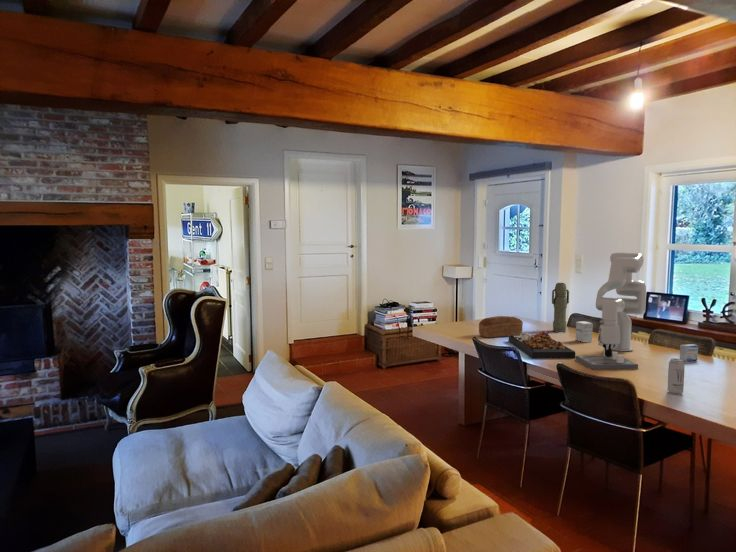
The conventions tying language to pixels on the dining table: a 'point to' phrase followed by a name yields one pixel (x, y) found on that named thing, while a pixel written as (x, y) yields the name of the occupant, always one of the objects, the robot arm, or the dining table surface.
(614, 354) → the handle middle
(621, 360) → the handle
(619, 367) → the switch board
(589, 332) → the white ridged canister
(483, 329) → the bread
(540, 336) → the food platter
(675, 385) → the energy drink can
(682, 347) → the medicine box
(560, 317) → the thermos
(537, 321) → the dining table surface
